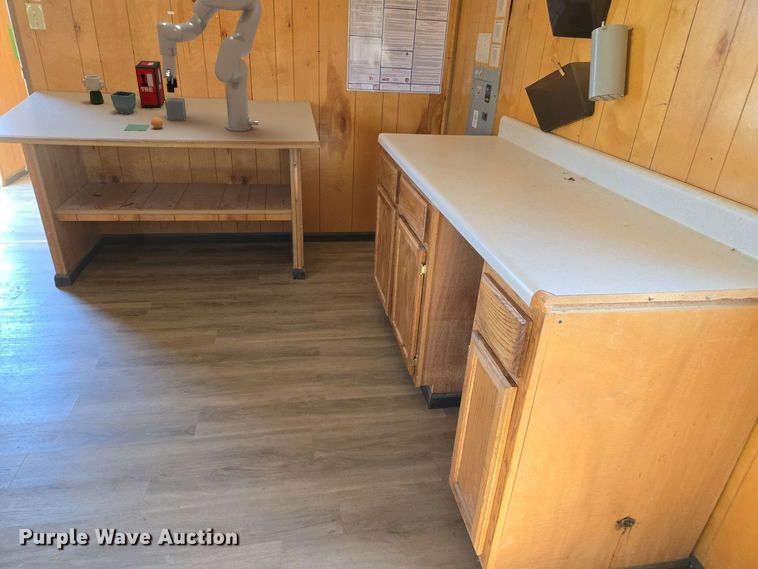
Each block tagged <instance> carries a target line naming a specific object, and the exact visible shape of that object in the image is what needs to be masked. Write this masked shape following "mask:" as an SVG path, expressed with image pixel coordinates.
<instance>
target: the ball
mask: <svg viewBox="0 0 758 569" xmlns="http://www.w3.org/2000/svg"><path fill="white" fill-rule="evenodd" d="M150 124H151V127H152V128H155V129H161V128H162V127H163V125H164V122H163V120H162V118H161V117H159V116H156V117H153V118H152V119H151V121H150Z"/></svg>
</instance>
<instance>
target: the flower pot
mask: <svg viewBox="0 0 758 569" xmlns="http://www.w3.org/2000/svg"><path fill="white" fill-rule="evenodd" d="M136 96H137V95H136V92H133V91H125V90H124V91H123V90H121V91H120V90H117V91H115V92H114V93H111V94H110V99H111V102H112V105H113V107H114V108H115V110H116V111H117V112H118V113H120V114H128V115H129V114H131V113H133V112H134V110H135V108H136V104H137V102H136V100H137V99H136V98H137V97H136Z"/></svg>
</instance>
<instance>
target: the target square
mask: <svg viewBox="0 0 758 569" xmlns="http://www.w3.org/2000/svg"><path fill="white" fill-rule="evenodd" d="M149 127H150V124H133V123H132V124H129V123H128V124H127V125H126V126H125V128H124V129H123V130H124V131H130V130H142V131H141V132H144V131H145V132H146V130H148V128H149Z"/></svg>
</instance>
